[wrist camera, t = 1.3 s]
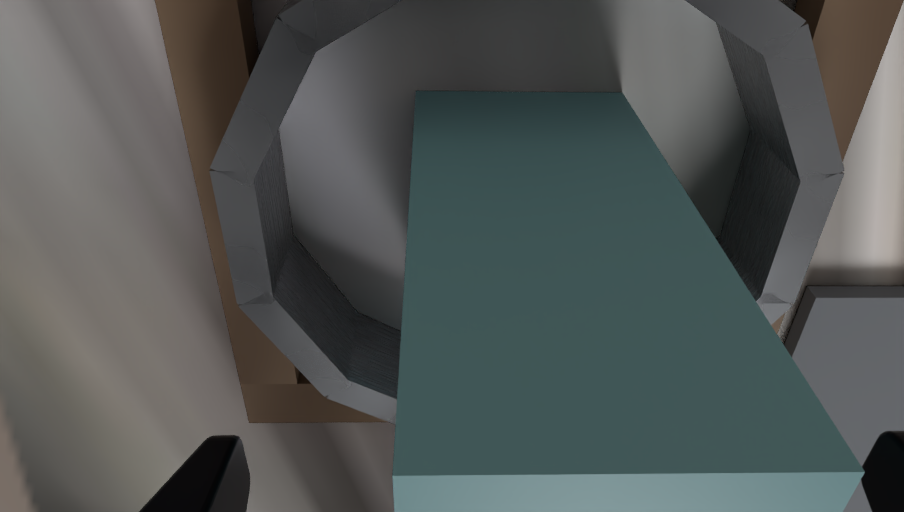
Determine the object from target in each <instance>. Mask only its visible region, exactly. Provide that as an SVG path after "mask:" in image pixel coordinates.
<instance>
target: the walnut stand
mask: <svg viewBox="0 0 904 512" xmlns="http://www.w3.org/2000/svg"><path fill="white" fill-rule="evenodd" d="M903 1H904V0H797V4H796V7H795V11H794V12H795V13H796V14H798V15H799V16H800V17H802V18H803V19H804V20H806V23H808V26H809V30H810V34H811V38H812V42H813V46H814V50H815V54H816V58H817V62H818V66H819V70H820V74H821V78H822V82H823V86H824V90H825V94H826V98H827V102H828V107H829V111H830V115H831V119H832V123H833V127H834V131H835V135H836V139H837V143H838V147H839V151H840V155H841V159H842V162H843V159H844V156H845V154H846V151H847V148H848V146H849V143H850V141H851V138H852V135H853V133H854V130H855V127H856V125H857V122H858V119H859V117H860V114H861V111H862V109H863V106H864V104H865V101H866V98H867V96H868V93H869V90H870V88H871V85H872V82H873V80H874V77H875V75H876V72H877V69H878V67H879V64H880V61H881V59H882V56H883V53H884V51H885V48H886V46H887V43H888V40H889V38H890V35H891V32H892V30H893V27H894V24H895V22H896V19H897V16H898V14H899V11H900V9H901V6H902V3H903ZM155 3H156V8H157V12H158V17H159V21H160V26H161V30H162V35H163V39H164V44H165V48H166V53H167V57H168V62H169V66H170V71H171V75H172V80H173V84H174V89H175V93H176V97H177V102H178V106H179V111H180V115H181V120H182V124H183V129H184V133H185V138H186V142H187V147H188V151H189V156H190V160H191V165H192V169H193V174H194V178H195V183H196V187H197V192H198V196H199V201H200V205H201V210H202V214H203V219H204V223H205V228H206V232H207V237H208V241H209V246H210V250H211V255H212V259H213V263H214V268H215V272H216V277H217V281H218V286H219V290H220V295H221V299H222V304H223V308H224V313H225V317H226V322H227V326H228V331H229V335H230V340H231V344H232V349H233V353H234V358H235V362H236V367H237V371H238V376H239V380H240V385H241V389H242V394H243V398H244V403H245V407H246V412H247V416H248V421H249V423H318V422H387V421H385V420H382V419H379V418H377V417H374V416H372V415H369V414H366V413H364V412H361V411H358V410H356V409H353V408H351V407H348V406H345V405H343V404H340V403H338V402H335V401H332V400H330V399H327V396H325V397H324V396H323V395H322V394H321V393H320V392H319V391H318V390H317V389H316V388H315V387H314V386H313V385H312V383H311V382H310V381H309V380H308V379H307V378H306V377H305V376H304V375H303V374H302V373H301V372H300V371H299V370H298V369H297V368H296V367H295V366H294V365H293V363H292V362H291V361H290V360H289V359H288V358H287V357H286V356H285V355H284V354H283V353H282V352H281V351H280V350H279V349H278V348H277V347H276V346H275V345H274V343H273V342H272V341H271V340H270V339H269V338H268V337H267V336H266V335H265V334H264V333H263V332H262V331H261V330H260V329H259V328H258V327H257V326H256V325H255V323H254V322H253V321H252V320H251V319H250V318H249V317H248V316H247V315H246V314H245V313H244V312H243V311H242V310H241V309H240V308H239V307H238V306H239V304H237V302H236V297H235V292H234V287H233V282H232V277H231V273H230V268H229V263H228V258H227V253H226V249H225V244H224V239H223V234H222V229H221V224H220V220H219V215H218V210H217V205H216V200H215V195H214V191H213V186H212V181H211V176H210V169H211V168H210V166H211V164H212V162H213V159H214V157H215V155H216V153H217V150H218V148H219V146H220V144H221V141H222V139H223V137H224V134H225V132H226V130H227V128H228V125H229V123H230V121H231V119H232V116H233V114H234V112H235V110H236V107H237V105H238V103H239V101H240V98H241V96H242V94H243V92H244V89H245V87H246V85H247V82H248V80H249V78H250V76H251V73H252V71H253V69H254V67H255V64H256V62H257V60H258V58H259V52H258V45H257V39H256V32H255V25H254V18H253V11H252V4H251V0H155ZM784 315H785V313H784V314H783V315H782V316H781V317H780V318H778V319H777V320H776V321H775V322H774V323H773V324H772V325H771V326H772V327H773V329H774V331H775V332H776V334H777V333H778V331H779V328H780V325H781V323H782V320H783V317H784Z"/></svg>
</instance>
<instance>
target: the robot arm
mask: <svg viewBox="0 0 904 512" xmlns="http://www.w3.org/2000/svg"><path fill="white" fill-rule="evenodd" d="M862 468H863V470H864V471H865V473H864V475H863V476H862V478H861V483H862V486H863V489H864V492H865V495H866V497H867V500H868V503H869V505H870V508H871V511H872V512H904V431H885V432H883V433H881V434H880V435H879V437H878V438H877V440H876V442H875V443H874V445H873V447H872V449H871V451H870V453H869V454H868V456H867V458H866V460H865V462H864V463H863V465H862ZM249 490H250V473H249V469H248V464H247V460H246V456H245V452H244V447H243V443H242V440H241V439H240V437H238V436H235V435H220V436H211V437H209V438H207V439H206V440H205V441H204V442H203V443H202V444H201V445H200V446H199V447H198V448H197V449H196V451H195V452H194V453H193V454H192V455H191V456H190V457H189V458H188V459H187V460H186V461H185V462H184V464H183V465H182V466H181V467H180V468H179V469H178V470H177V471H176V472H175V473H174V474H173V475H172V477H171V478H170V479H169V480H168V481H167V482H166V483H165V484H164V485H163V486H162V487H161V488H160V490H159V491H158V492H157V493H156V494H155V495H154V496H153V497H152V498H151V499H150V500H149V501H148V503H147V504H146V505H145V506H144V507H143V508H142V509H141V510H140V511H139V512H246V509H247V503H248V496H249Z"/></svg>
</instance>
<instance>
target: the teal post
mask: <svg viewBox="0 0 904 512" xmlns="http://www.w3.org/2000/svg"><path fill="white" fill-rule="evenodd" d="M864 473H865V471H864V470H863V468H862V467H861V465H860V463H859V462H858V460H857V459H856V457H855V456H854V454H853V453H852V451H851V449H850V448H849V446H848V445H847V443H846V442H845V440H844V438H843V437H842V435H841V434H840V432H839V431H838V429H837V428H836V426H835V424H834V423H833V421H832V420H831V418H830V417H829V415H828V413H827V412H826V410H825V409H824V407H823V406H822V404H821V402H820V401H819V399H818V398H817V396H816V395H815V393H814V392H813V390H812V388H811V387H810V385H809V384H808V382H807V381H806V379H805V377H804V376H803V374H802V373H801V371H800V370H799V368H798V367H797V365H796V363H795V362H794V360H793V359H792V357H791V356H790V354H789V352H788V351H787V349H786V348H785V346H784V345H783V343H782V342H781V340H780V338H779V337H778V335H777V334H776V332H775V331H774V329H773V327H772V326H771V324H770V323H769V321H768V320H767V318H766V316H765V315H764V313H763V312H762V310H761V309H760V307H759V306H758V304H757V302H756V301H755V299H754V298H753V296H752V295H751V293H750V291H749V290H748V288H747V287H746V285H745V284H744V282H743V281H742V279H741V277H740V276H739V274H738V273H737V271H736V270H735V268H734V266H733V265H732V263H731V262H730V260H729V259H728V257H727V256H726V254H725V252H724V251H723V249H722V248H721V246H720V245H719V243H718V241H717V240H716V238H715V237H714V235H713V234H712V232H711V230H710V229H709V227H708V226H707V224H706V223H705V221H704V220H703V218H702V216H701V215H700V213H699V212H698V210H697V209H696V207H695V205H694V204H693V202H692V201H691V199H690V198H689V196H688V195H687V193H686V191H685V190H684V188H683V187H682V185H681V184H680V182H679V180H678V179H677V177H676V176H675V174H674V173H673V171H672V170H671V168H670V166H669V165H668V163H667V162H666V160H665V159H664V157H663V155H662V154H661V152H660V151H659V149H658V148H657V146H656V145H655V143H654V141H653V140H652V138H651V137H650V135H649V134H648V132H647V130H646V129H645V127H644V126H643V124H642V123H641V121H640V119H639V118H638V116H637V115H636V113H635V112H634V110H633V109H632V107H631V105H630V104H629V102H628V101H627V99H626V98H625V96H624V94H623V93H616V92H489V91H416V96H415V112H414V129H413V145H412V162H411V178H410V195H409V211H408V228H407V244H406V261H405V277H404V293H403V310H402V326H401V343H400V359H399V376H398V392H397V409H396V425H395V442H394V458H393V474H392V478H393V497H394V512H843V510H844V509H845V507H846V505H847V503H848V501H849V500H850V498H851V496H852V494H853V493H854V491H855V489H856V487H857V485H858V484H859V482H860V480H861V478H862V476H863V475H864Z"/></svg>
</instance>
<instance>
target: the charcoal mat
mask: <svg viewBox="0 0 904 512" xmlns="http://www.w3.org/2000/svg"><path fill="white" fill-rule="evenodd" d="M784 346H785V348H786V349H787V351H788V352H789V354H790V356H791V357H792V359H793V360H794V362H795V363H796V365H797V367H798V368H799V370H800V371H801V373H802V374H803V376H804V377H805V379H806V381H807V382H808V384H809V385H810V387H811V388H812V390H813V392H814V393H815V395H816V396H817V398H818V399H819V401H820V402H821V404H822V406H823V407H824V409H825V410H826V412H827V413H828V415H829V417H830V418H831V420H832V421H833V423H834V424H835V426H836V428H837V429H838V431H839V432H840V434H841V435H842V437H843V438H844V440H845V442H846V443H847V445H848V446H849V448H850V449H851V451H852V453H853V454H854V456H855V457H856V459H857V460H858V462H859V463H860V465H861V467H862V465H863V463H864V462H865V460H866V458H867V456H868V454H869V453H870V451H871V449H872V447H873V445H874V443H875V442H876V440H877V438H878V437H879V435H880V434H881V433H883V432H885V431H904V286H807V288H806V290H805V293H804V296H803V298H802V301H801V303H800V306H799V308H798V311H797V313H796V316H795V319H794V321H793V324H792V326H791V329H790V331H789V334H788V336H787V339H786V342H785V344H784ZM843 512H872V511H871V508H870V505H869V503H868V500H867V497H866V495H865V492H864V489H863V486H862V483H861V480H860V482H859V484H858V485H857V487H856V489H855V491H854V493H853V494H852V496H851V498H850V500H849V501H848V503H847V505H846V507H845V509H844V510H843Z"/></svg>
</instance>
